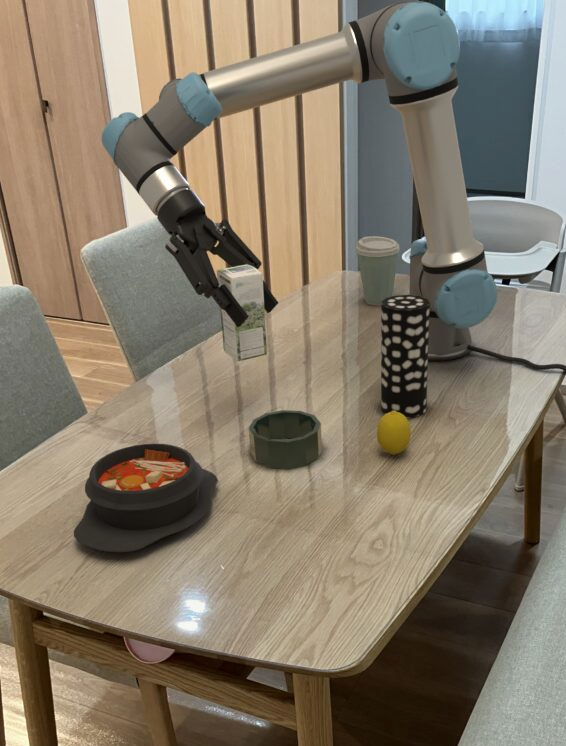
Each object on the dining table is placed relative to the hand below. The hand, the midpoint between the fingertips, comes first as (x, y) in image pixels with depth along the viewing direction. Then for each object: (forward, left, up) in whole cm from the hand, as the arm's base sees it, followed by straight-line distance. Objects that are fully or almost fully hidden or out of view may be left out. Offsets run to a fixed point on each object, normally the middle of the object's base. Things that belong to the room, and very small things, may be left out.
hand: (258, 314), depth 137 cm
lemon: (-23, +8, -21) cm, 32 cm away
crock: (-5, +9, -21) cm, 23 cm away
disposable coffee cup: (-11, -71, -21) cm, 75 cm away
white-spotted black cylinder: (-23, -10, -21) cm, 33 cm away
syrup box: (+3, -1, -8) cm, 8 cm away
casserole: (+11, +31, -21) cm, 39 cm away
